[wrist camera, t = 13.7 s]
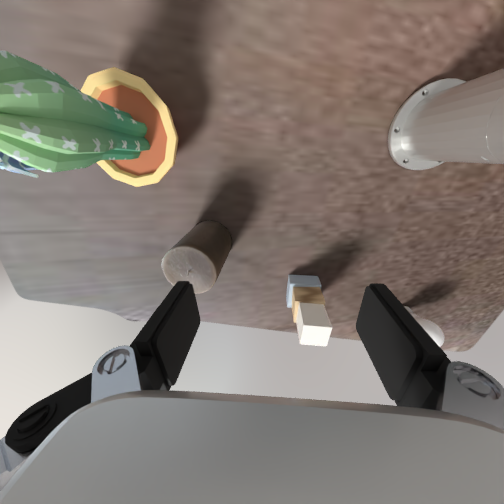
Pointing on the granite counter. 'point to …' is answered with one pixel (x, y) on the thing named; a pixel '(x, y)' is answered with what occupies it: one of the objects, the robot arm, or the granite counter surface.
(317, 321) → the white block
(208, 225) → the pillar candle
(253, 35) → the granite counter surface
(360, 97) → the granite counter surface
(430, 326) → the lightbulb
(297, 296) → the tower mid
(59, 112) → the potted cactus
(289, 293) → the tower base
